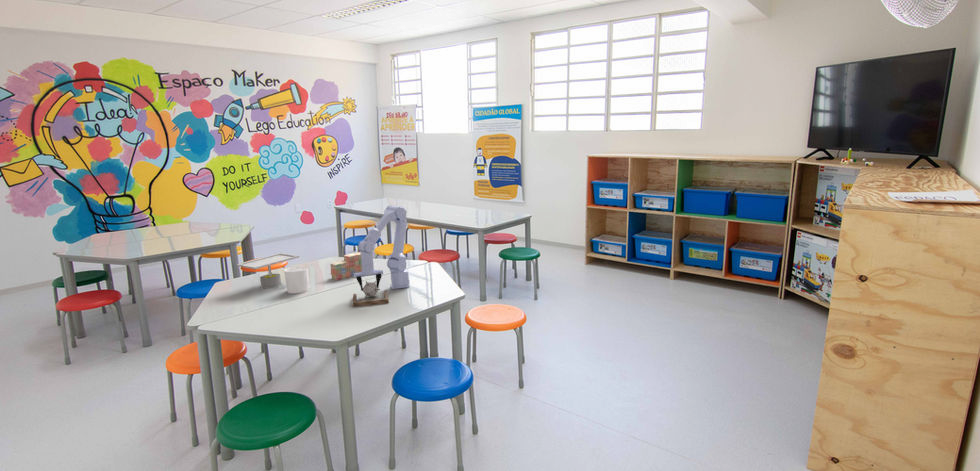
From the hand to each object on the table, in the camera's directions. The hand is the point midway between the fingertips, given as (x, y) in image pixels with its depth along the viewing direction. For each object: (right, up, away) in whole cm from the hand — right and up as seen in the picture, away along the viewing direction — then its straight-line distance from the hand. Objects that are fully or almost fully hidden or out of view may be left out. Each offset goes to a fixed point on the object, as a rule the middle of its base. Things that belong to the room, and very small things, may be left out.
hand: (369, 289), depth 257 cm
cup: (-42, -2, +15) cm, 45 cm away
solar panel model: (-62, -1, +25) cm, 67 cm away
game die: (+1, -4, -1) cm, 4 cm away
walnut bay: (+2, -5, -6) cm, 8 cm away
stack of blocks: (-21, +4, +40) cm, 45 cm away
